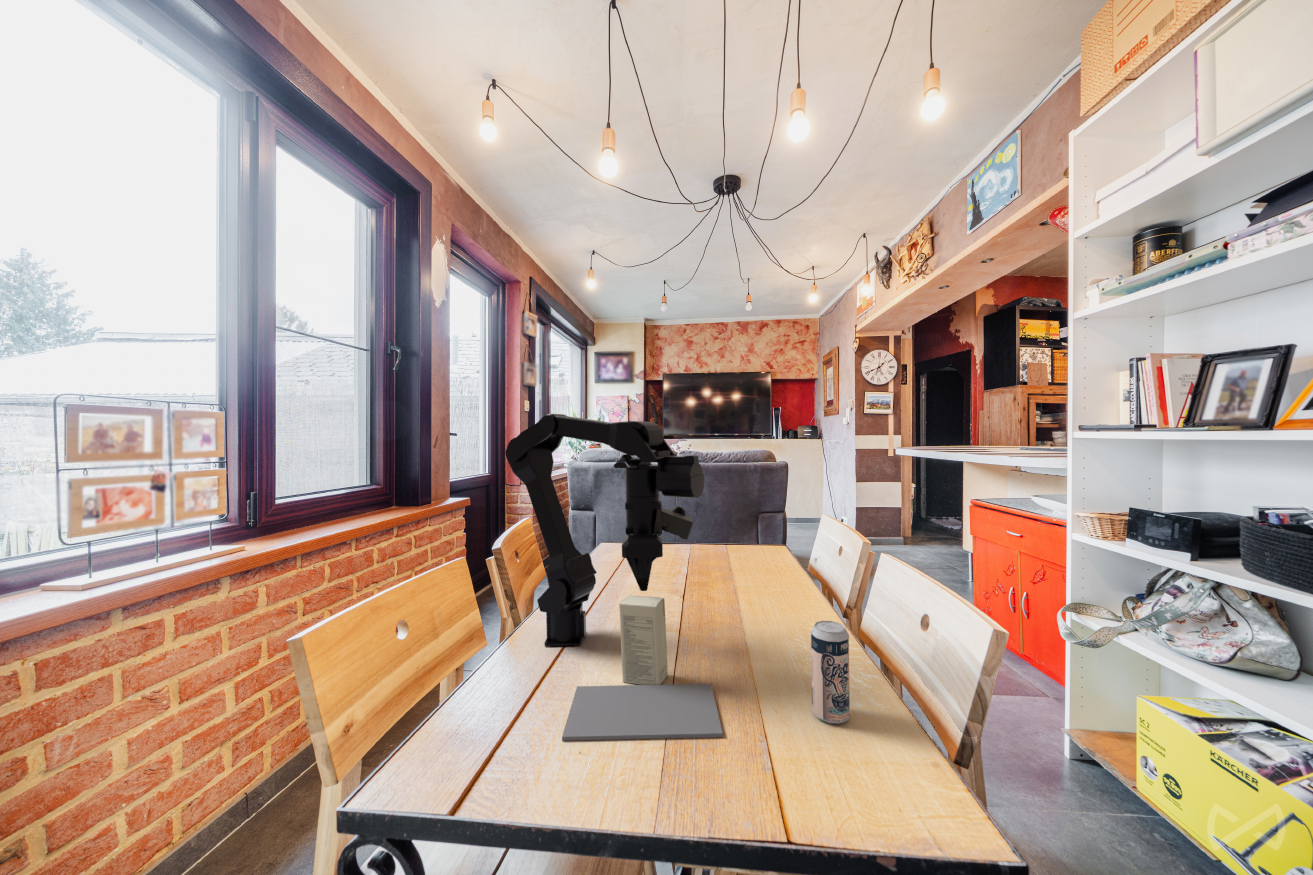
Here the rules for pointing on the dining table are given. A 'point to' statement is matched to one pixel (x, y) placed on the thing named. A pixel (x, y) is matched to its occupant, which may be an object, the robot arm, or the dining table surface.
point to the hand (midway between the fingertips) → (644, 586)
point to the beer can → (830, 672)
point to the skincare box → (643, 640)
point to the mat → (643, 712)
